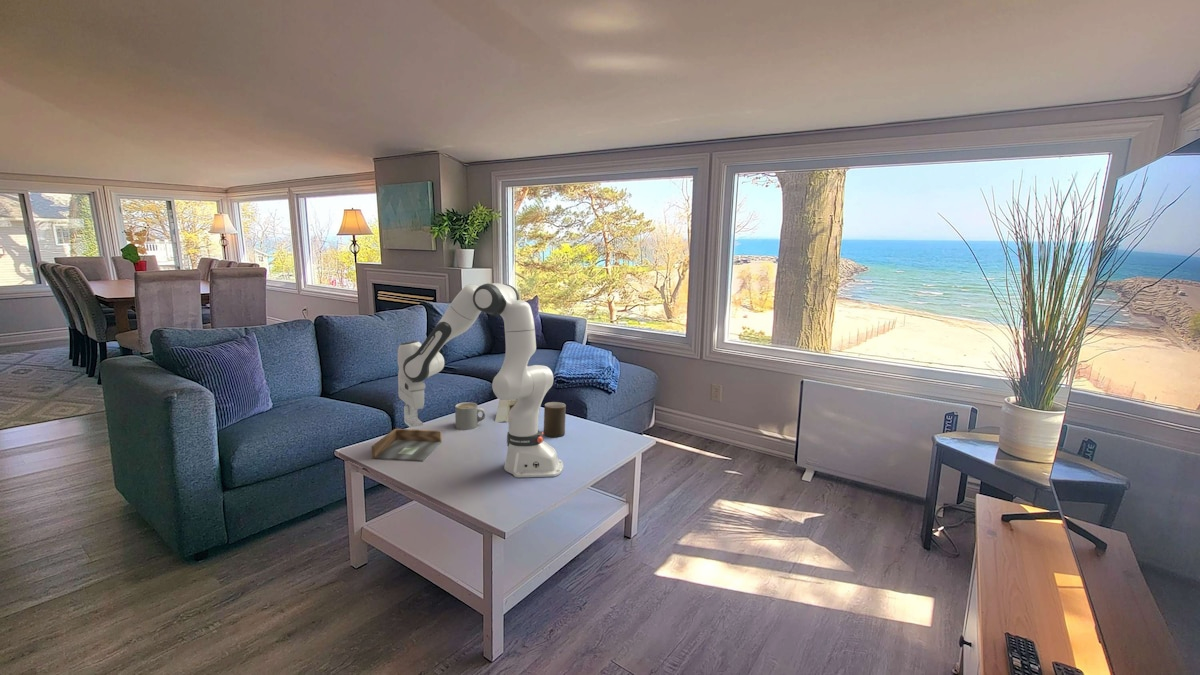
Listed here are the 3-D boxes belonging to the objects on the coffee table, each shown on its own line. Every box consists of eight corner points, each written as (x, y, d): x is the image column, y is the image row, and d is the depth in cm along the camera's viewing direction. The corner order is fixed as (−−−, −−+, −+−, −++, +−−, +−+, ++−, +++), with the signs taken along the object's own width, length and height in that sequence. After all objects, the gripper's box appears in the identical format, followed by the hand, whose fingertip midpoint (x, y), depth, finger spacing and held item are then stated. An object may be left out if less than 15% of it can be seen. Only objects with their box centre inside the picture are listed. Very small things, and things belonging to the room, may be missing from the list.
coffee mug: (453, 429, 228) (453, 408, 226) (458, 422, 238) (457, 402, 236) (483, 430, 229) (483, 409, 227) (486, 422, 239) (486, 402, 237)
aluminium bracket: (404, 422, 201) (403, 405, 200) (416, 420, 204) (416, 403, 203) (410, 427, 196) (409, 410, 195) (423, 425, 199) (422, 408, 198)
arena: (441, 442, 213) (441, 430, 212) (422, 461, 193) (422, 449, 192) (395, 439, 214) (395, 428, 213) (372, 458, 194) (371, 446, 193)
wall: (532, 427, 246) (532, 401, 256) (528, 418, 239) (529, 392, 249) (499, 431, 247) (500, 405, 256) (494, 422, 240) (496, 396, 249)
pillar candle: (556, 439, 221) (557, 406, 219) (539, 434, 226) (540, 402, 224) (569, 433, 229) (570, 401, 227) (552, 428, 234) (553, 397, 232)
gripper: (393, 376, 206) (394, 408, 208) (410, 388, 190) (411, 422, 192) (409, 374, 209) (410, 406, 212) (427, 385, 194) (427, 419, 196)
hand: (410, 414), depth 202 cm, fingers closed on aluminium bracket
